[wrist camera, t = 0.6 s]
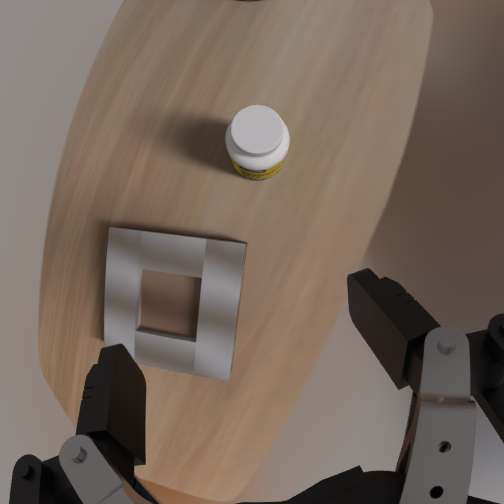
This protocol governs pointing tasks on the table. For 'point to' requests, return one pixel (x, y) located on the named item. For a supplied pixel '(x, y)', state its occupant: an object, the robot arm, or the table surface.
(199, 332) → the mount block
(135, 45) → the table surface
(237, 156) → the supplement bottle
